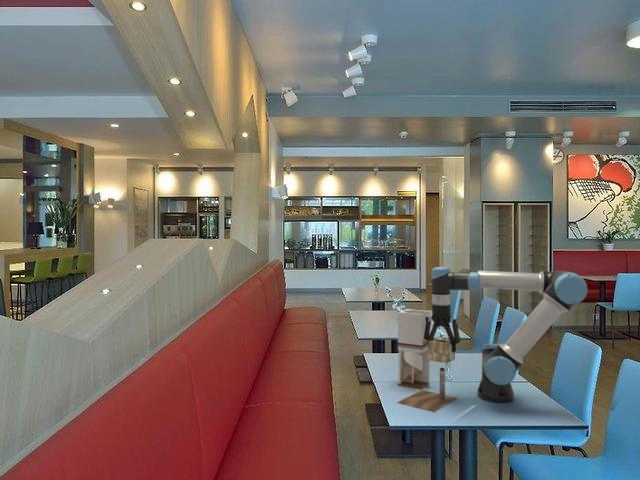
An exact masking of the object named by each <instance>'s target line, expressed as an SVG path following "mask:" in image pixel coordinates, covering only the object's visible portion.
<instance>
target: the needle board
mask: <svg viewBox="0 0 640 480" xmlns="http://www.w3.org/2000/svg"><path fill="white" fill-rule="evenodd" d="M458 399H459V398H458V397H455V396H451V395H447V394H446V368H445V367H440V368H439V393H438V392H432V391H429V390H423V389H420V390H419V391H417V392H415V393H413V394H411V395H409V396H407V397H405V398H403V399H401V400H399V401H398V402H396V404H399V405H404V406H408V407H410V408H411V407H412V408H414V409H415V408H416V409H419V410H424V411H428V412H432V413H436V412H437V411H439V410H441V409H443V408H445V407H446V406H448V405H449V404H451V403H453V402H454V401H456V400H458Z"/></svg>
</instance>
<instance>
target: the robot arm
mask: <svg viewBox="0 0 640 480" xmlns="http://www.w3.org/2000/svg"><path fill="white" fill-rule="evenodd" d="M480 288H481V289H495V290H512V291H529V292H538V293H539V294H540V295H543V298H542V300H541V301H540V302H539V303H538V304H537V305H536V307H535V308H534V309H533V310H532V311H531V312H530V314H529V315H528V316H526V318H525V320H523V322H522V323H521V324H520V325H519V327H518V328H516V330H515V331H514V332H513V333H512V335H511V336H510V337H509V338H508V339H507V340H506V341H505V343H484V344H483V345H482V347H481V348H482V349H481V379H480V382H479V385H478V388H477V391H476V392H477V393H476V394H477V395H476V396H477V397H478V398H479V399H481V400H483V401H486V402H493V403H509V402H513V401H514V399H515V392H514V390H513V386H512V384H511V383H512V382H513V380H514V379H515V377H516V375H517V372H518V370H519V369H520V368H521V367H522V366H523V365H524V360H523V359H524V357H525V356H526V354H528V352H529V351H530V350H531V349H532V348H533V347H534V346H535V345H536V343H537V342H538V341H539V340H540V339H541V338H542V336H543V335H544V334H545V333H546V332H547V331H548V329H550V327H551V326H552V325H553V324H554V323H555V322H556V321H557V319H558V318H559V317H560V316H561V315H562V313H567V312H570V311H571V309H572V308H573V307H574V306H575V305H576V304H579V303H581V302H582V301H584V299H585V298H586V296H587V294H588V285H587V283H586V280H584V278H583V277H582V276H580V275H579V274H577V273H575V272H571V271H570V270H569V271H568V270H552V271H549V270H547V271H543V270H542V271H540V272H538V273H537V272H536V273H535V272H521V271H520V272H518V271H516V272H515V271H501V270H500V271H499V270H497V271H496V270H475V269H468V268H462V269H460V270H458V271H451V270H450V267H447V266H436V267H433V268H432V269H431V303H432V305H431V313H432V314H431V315H430V316H428V317H425V320H426V326H425V333H424V339H425V340H427V341H428V348H429V341H431V340H434V339H435V338H434V337H435V335H436V333H437V331H438V328H439V327H442V328H443V329H444V330H445V332H446V334H447V337H448V338H449V339H448V340H450V342H451V344H449V352H450V360H452V361H454V360H455V359H454V352H455V353H456V350H457V344H459V343H461V337H460V332H459V327H458V322H459V320H458V318H453V317H452V315H451V311H452V310H451V305H450V304H451V291H471V292H472V291H479V290H480ZM432 321H433V324H432ZM450 323H451V325H452V328H451V325H450ZM431 326H432V328H431ZM429 333H430V335H429ZM453 359H454V360H453Z"/></svg>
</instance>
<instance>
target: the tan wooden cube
mask: <svg viewBox="0 0 640 480" xmlns="http://www.w3.org/2000/svg"><path fill="white" fill-rule="evenodd" d="M449 344H451V342H450V339H447V338H433V340H431V341H429V361H430V362H436V363H443V364H448V363H450V362H453V361H454V360H456V351H455V352H454V359H453V360H450V352H449Z"/></svg>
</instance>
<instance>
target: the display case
mask: <svg viewBox="0 0 640 480" xmlns="http://www.w3.org/2000/svg"><path fill="white" fill-rule="evenodd" d="M397 313H398V314H397V316H398V317H397V350H398V383H397V386H400V387H405V388H410V389H417V390H423V389H424V388H425V389H428V388H429V387H430V362H431V361H429V348H428V341H427V340H425V339H424V333H425V326H426V320H425V317H428V316H431V311H430V310H420V309H409V308H406V309H404V310H401V311H398V312H397ZM430 333H431V332H430ZM430 333H429V335H430Z"/></svg>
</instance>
